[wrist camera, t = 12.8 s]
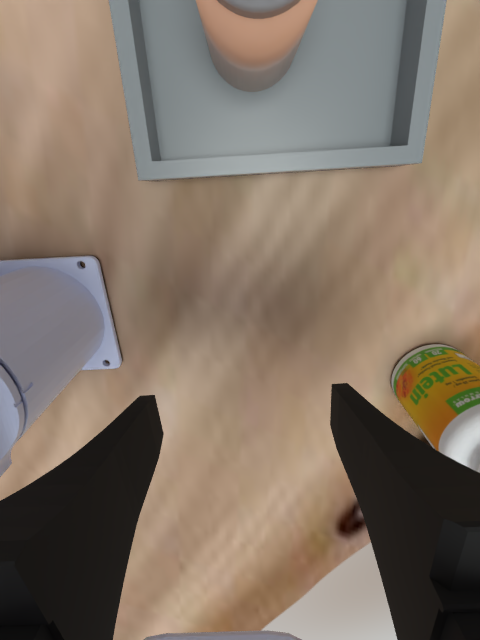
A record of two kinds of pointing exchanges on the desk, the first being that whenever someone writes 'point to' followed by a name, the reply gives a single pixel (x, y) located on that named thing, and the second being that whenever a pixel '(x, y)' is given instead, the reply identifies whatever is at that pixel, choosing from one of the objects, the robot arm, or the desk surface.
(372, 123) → the tray
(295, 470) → the desk surface
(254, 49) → the shaker
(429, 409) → the supplement bottle
